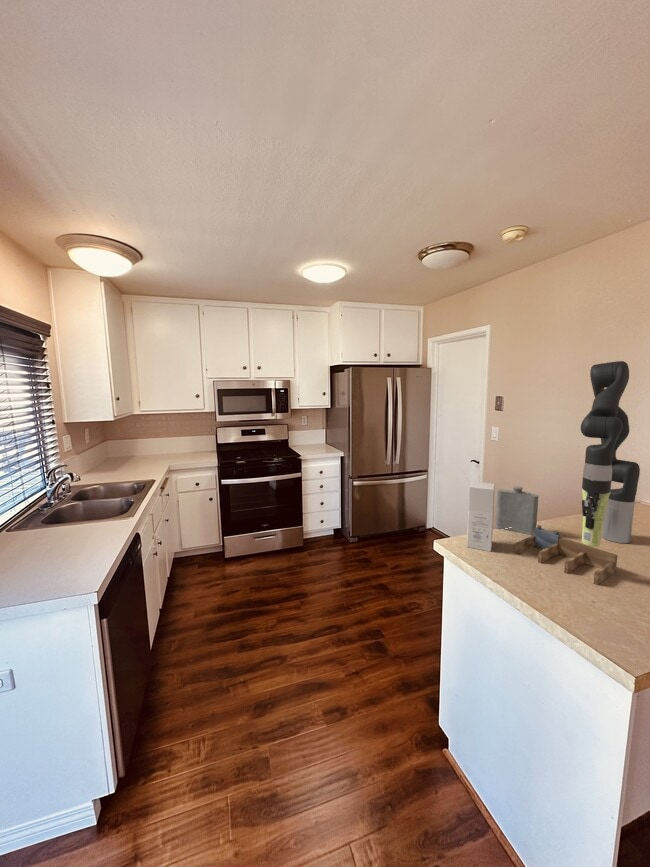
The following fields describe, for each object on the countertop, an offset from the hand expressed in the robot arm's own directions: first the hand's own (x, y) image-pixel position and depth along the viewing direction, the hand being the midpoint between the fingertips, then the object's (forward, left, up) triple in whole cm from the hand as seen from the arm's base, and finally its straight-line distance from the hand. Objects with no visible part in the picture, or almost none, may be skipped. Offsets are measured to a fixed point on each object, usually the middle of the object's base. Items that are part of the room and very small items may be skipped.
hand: (592, 526), depth 118 cm
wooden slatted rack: (-1, -9, -17) cm, 19 cm away
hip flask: (-15, -34, -17) cm, 41 cm away
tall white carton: (+11, -34, -17) cm, 39 cm away
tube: (0, 0, -7) cm, 7 cm away
